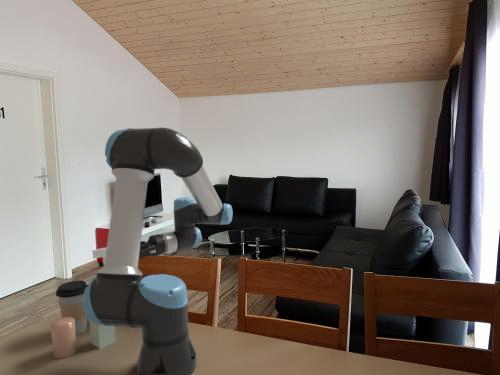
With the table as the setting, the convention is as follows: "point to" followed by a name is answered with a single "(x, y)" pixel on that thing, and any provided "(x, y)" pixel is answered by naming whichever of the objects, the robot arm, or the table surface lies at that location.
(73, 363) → the table surface
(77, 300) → the coffee cup
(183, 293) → the robot arm
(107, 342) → the sage tin
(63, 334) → the peach rounded cylinder
